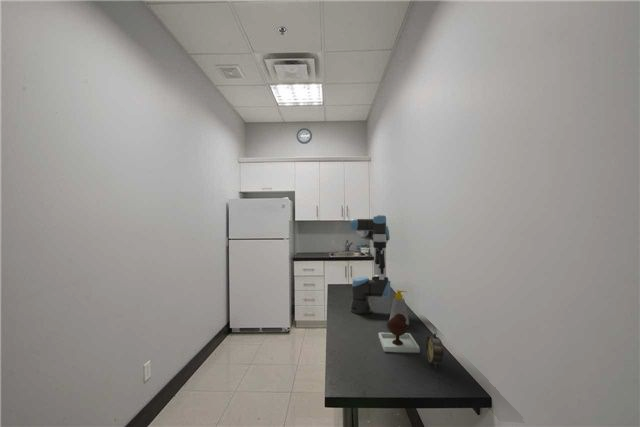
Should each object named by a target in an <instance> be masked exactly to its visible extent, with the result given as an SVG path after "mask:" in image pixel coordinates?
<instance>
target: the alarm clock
mask: <svg viewBox="0 0 640 427" xmlns="http://www.w3.org/2000/svg"><path fill="white" fill-rule="evenodd" d="M432 331H433V335H428V336H427V337H426V343H425V344H426V345H425V346H426V347H425V349H426V350H425V351H426V357H427V360H428V362H429V363H430V364H434V368H435V369H434V370H437V369H438V368H437V365H441V364H442V363H443V360H444V357H445V356H444V355H445V353H444V346H443V342H442V340H441V338H440V337H438V336H437V329H436V327H435V326H433V330H432Z"/></svg>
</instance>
